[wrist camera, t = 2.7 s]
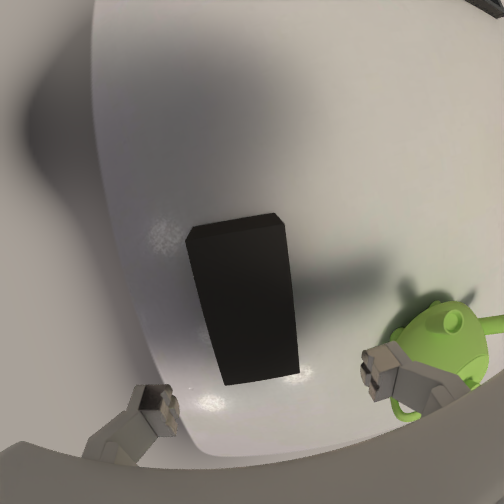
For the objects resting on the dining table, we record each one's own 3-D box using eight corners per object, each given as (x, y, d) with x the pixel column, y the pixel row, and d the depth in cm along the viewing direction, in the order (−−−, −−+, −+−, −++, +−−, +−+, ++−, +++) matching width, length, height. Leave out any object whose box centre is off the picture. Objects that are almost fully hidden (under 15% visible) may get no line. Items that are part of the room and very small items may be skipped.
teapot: (345, 384, 22) (380, 457, 14) (403, 266, 18) (478, 322, 10) (427, 381, 23) (464, 431, 15) (477, 287, 20) (534, 328, 12)
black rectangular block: (192, 226, 16) (184, 240, 14) (275, 212, 17) (284, 223, 14) (224, 358, 20) (224, 386, 17) (291, 346, 20) (300, 373, 17)
